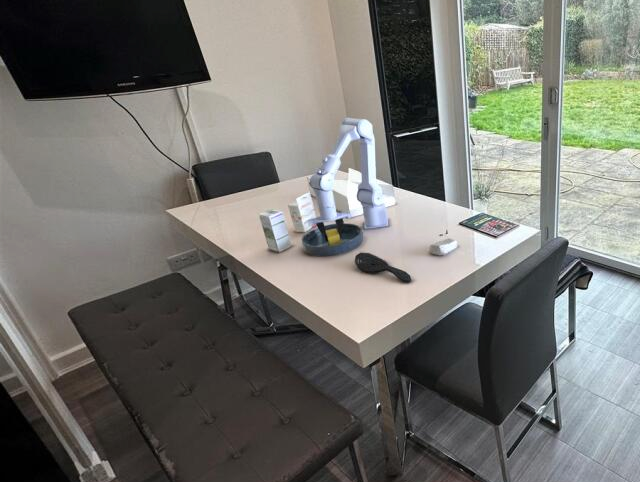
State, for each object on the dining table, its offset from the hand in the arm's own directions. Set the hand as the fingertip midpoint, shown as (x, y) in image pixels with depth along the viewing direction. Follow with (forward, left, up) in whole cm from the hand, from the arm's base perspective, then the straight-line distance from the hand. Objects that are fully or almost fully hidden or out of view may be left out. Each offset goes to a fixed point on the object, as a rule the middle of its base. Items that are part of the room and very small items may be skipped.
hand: (333, 238), depth 155 cm
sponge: (0, 0, -1) cm, 1 cm away
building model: (-5, -51, -2) cm, 51 cm away
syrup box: (+19, -3, -2) cm, 19 cm away
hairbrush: (-17, +28, -2) cm, 33 cm away
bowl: (0, 0, -2) cm, 2 cm away
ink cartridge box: (+12, -20, -2) cm, 23 cm away
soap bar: (-39, +20, -2) cm, 44 cm away
